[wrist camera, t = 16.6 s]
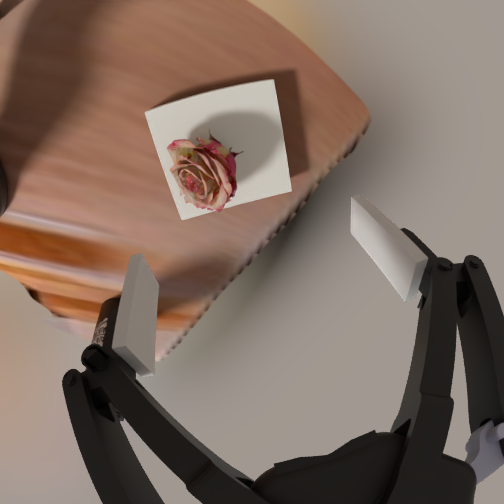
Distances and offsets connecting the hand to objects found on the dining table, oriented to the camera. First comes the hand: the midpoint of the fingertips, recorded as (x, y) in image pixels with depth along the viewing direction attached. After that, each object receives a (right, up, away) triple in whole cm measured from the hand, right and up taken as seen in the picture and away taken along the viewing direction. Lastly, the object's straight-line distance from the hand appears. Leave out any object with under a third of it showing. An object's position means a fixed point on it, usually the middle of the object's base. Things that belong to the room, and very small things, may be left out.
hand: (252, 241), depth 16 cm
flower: (-3, +12, +17) cm, 21 cm away
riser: (-4, +14, +20) cm, 25 cm away
